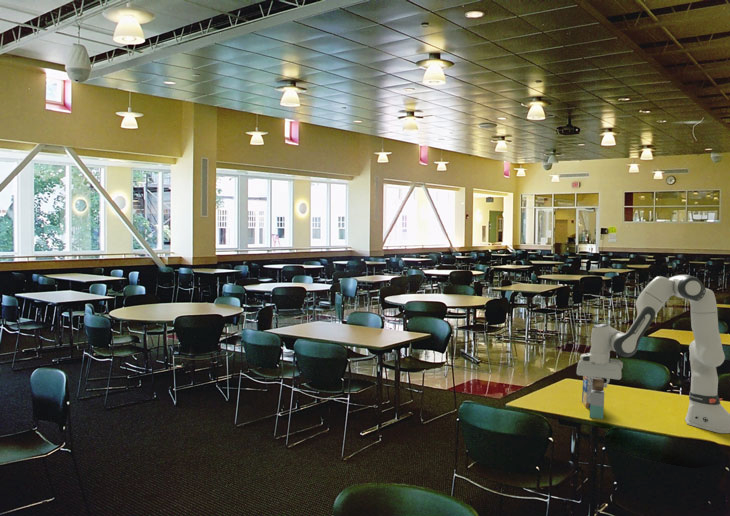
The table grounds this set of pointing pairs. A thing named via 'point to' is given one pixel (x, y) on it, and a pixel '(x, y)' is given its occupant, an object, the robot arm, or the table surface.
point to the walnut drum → (598, 384)
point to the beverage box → (587, 391)
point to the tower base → (596, 411)
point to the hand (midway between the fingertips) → (598, 386)
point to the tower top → (597, 398)
